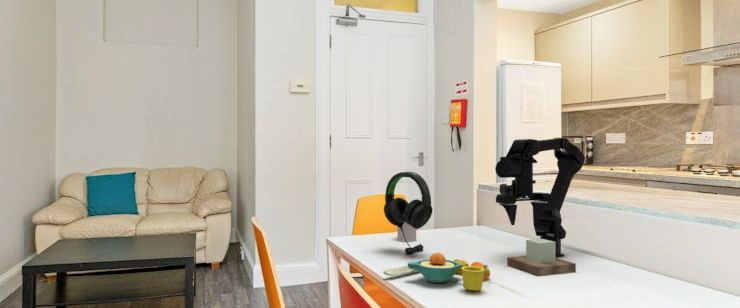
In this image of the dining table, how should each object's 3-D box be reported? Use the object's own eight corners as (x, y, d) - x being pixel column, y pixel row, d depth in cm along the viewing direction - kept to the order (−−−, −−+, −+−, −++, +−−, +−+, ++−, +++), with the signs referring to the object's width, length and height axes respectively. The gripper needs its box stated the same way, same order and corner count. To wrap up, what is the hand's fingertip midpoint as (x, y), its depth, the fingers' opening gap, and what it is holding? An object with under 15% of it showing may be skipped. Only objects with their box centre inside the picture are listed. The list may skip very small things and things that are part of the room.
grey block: (415, 244, 185) (415, 214, 185) (396, 244, 187) (396, 213, 187) (417, 241, 193) (417, 211, 193) (398, 240, 194) (398, 211, 194)
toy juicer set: (500, 277, 137) (500, 250, 137) (480, 292, 121) (480, 262, 122) (410, 266, 152) (410, 241, 152) (382, 278, 136) (382, 251, 136)
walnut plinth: (543, 262, 155) (543, 254, 155) (575, 272, 142) (575, 263, 142) (507, 265, 150) (507, 257, 150) (537, 276, 137) (537, 267, 137)
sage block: (541, 257, 150) (541, 238, 150) (555, 261, 144) (555, 241, 144) (526, 259, 148) (526, 239, 148) (539, 263, 142) (539, 243, 142)
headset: (379, 253, 169) (379, 171, 169) (404, 248, 178) (404, 170, 178) (418, 261, 156) (418, 172, 156) (443, 255, 166) (443, 171, 166)
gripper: (529, 175, 169) (530, 219, 169) (485, 176, 162) (485, 222, 162) (552, 176, 158) (553, 223, 158) (506, 178, 151) (506, 227, 151)
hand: (524, 224), depth 158 cm, fingers open, 9 cm apart
